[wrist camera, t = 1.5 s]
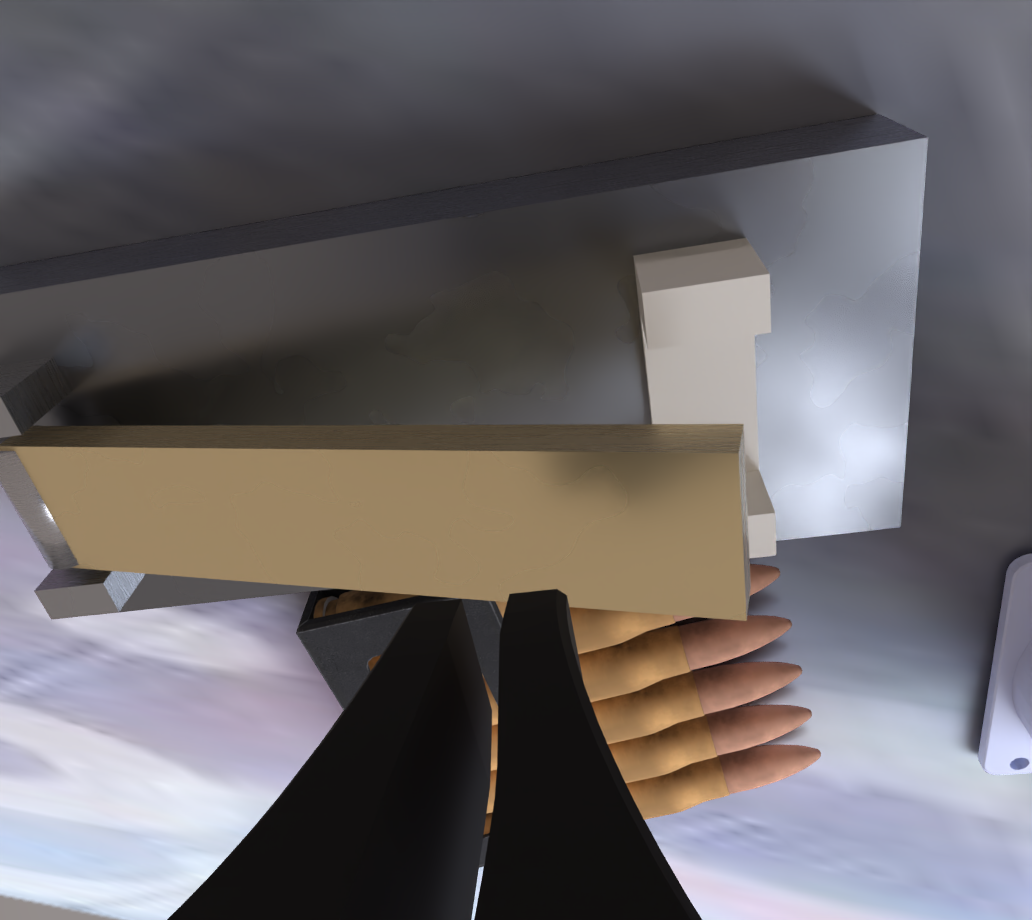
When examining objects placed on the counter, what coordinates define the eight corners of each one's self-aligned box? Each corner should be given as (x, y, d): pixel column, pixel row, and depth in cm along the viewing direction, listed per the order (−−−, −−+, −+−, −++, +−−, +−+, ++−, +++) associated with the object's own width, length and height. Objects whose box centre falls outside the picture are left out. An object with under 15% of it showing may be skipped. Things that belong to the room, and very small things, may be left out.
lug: (745, 237, 15) (769, 273, 13) (755, 497, 17) (776, 555, 16) (633, 255, 15) (641, 293, 13) (660, 508, 18) (670, 567, 16)
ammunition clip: (451, 825, 27) (816, 748, 25) (447, 877, 26) (835, 800, 24) (311, 583, 22) (751, 464, 20) (294, 630, 21) (770, 505, 19)
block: (879, 114, 16) (973, 159, 12) (864, 466, 20) (932, 581, 16) (-9, 269, 18) (-154, 344, 15) (136, 553, 22) (51, 668, 19)
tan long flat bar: (745, 416, 12) (737, 460, 11) (752, 579, 13) (745, 629, 12) (14, 421, 17) (-34, 451, 16) (78, 537, 18) (38, 571, 18)
